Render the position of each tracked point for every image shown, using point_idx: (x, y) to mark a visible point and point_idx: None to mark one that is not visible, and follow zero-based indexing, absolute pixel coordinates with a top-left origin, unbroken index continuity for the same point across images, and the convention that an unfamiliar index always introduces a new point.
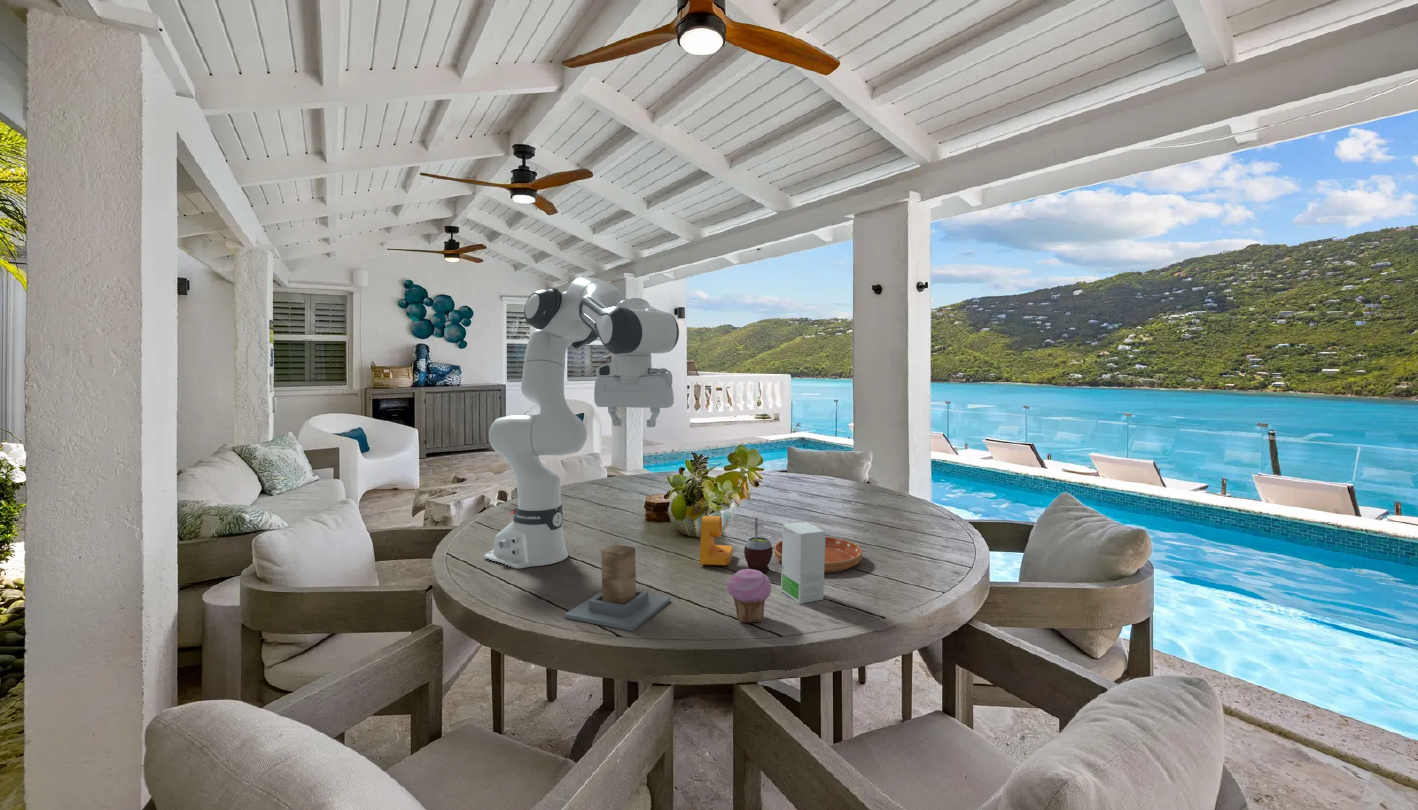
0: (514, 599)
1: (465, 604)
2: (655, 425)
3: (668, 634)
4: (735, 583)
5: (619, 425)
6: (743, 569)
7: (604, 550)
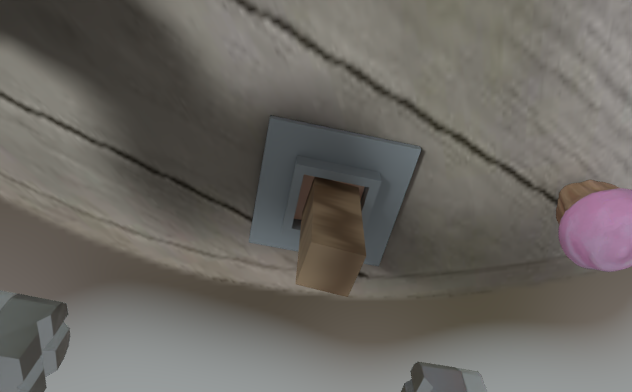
0: (110, 185)
1: (43, 216)
2: (480, 377)
3: (436, 262)
4: (582, 264)
5: (61, 320)
6: (615, 230)
7: (301, 281)
